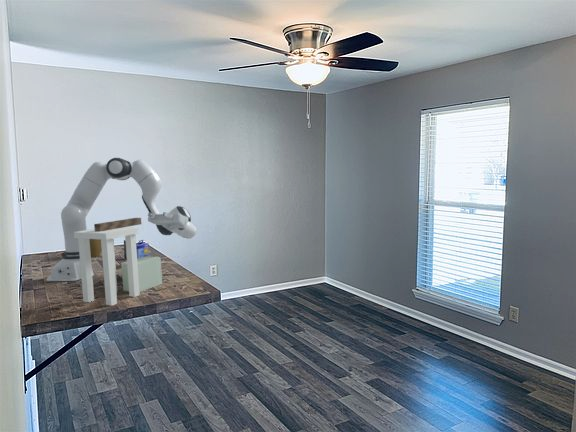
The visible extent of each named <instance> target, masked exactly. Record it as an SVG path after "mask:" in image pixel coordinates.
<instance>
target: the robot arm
mask: <svg viewBox="0 0 576 432" xmlns="http://www.w3.org/2000/svg"><path fill="white" fill-rule="evenodd" d="M130 178H132V179H133V180H134V181H135V182H136V183H137V185H138V186H139V187H140V189H141V193H142V194H141V199H142V202H143V205H145V208H146V209H147V211H148V213H147V216H148V217H147V222H148V223H151V224H153V225H156V229H157V230H158V232H159V234H161V235H163V236H171V235H172V234H176V235H178V236H179V237H182V239H183V238H184V239H192V238H194V237H195V236H196V234H197V231H198V229H197V226H195V225H194V224H193V222H192V216H191V214H190V212H189V210H187V208H185V207H183V206H180V205H177V206H175V207H174V208H173V209H171V210H170V211H169V212H166V211H165V212H163V213H161V212H160V211H159V209H158V207H157V205H156V198H157V196H158V194H159V193H160V191H161V188H162V179H161V178H160V176H159V175H158V173H157V172H156V171H155V169H153V168H152V167H151V165H150V164H148V163H147V162H146V161H145V160H143V159H137V160H134V161H133V162H130V161H129V160H126V159H124V158H121V157H113V158H111V159H109V160H108V161H107V162H106V163H104V162H101V161H95V162H93V163H92V164H91V165H90V166H89V168H88V169H87V170H86V171H85V173H84V175H83V176H82V178H81V180H80V181H79V183H78V184H77V186H76V188H75V190H74V191H73V193H72V195H71V197H70V199H69V200H68V202H67V204H66V205H65V206H64V207H63V208H62V209H61V212H60V218H61V226H62V230H63V231H62V232H63V237H64V248H65V251H63V252H62V253H61V254H60V257H62V259H61V260H59V261H58V262H57V263H56V264H54V265H53V266H52V268H51V271H50V275H49V276H47V277H46V282H75V281H78V280H79V281H80V280H82V279H81V267H80V255H79V243H78V238H74V232H78V231H84V230H88V229H87V228H88V227H87V221H86V217H87V216H88V214H89V212H90V211H91V209H92V207H93V205H94V204H95V202H96V200H97V199H98V197H99V195H100V194H101V192H102V190H103V188H104V186H105V185H106V183H107V182H108V181H109V179H113V180H117V181H126V180H128V179H130ZM94 276H95V273H94V271H93V269H92V277H94Z"/></svg>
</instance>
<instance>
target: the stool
mask: <svg viewBox="0 0 576 432" xmlns="http://www.w3.org/2000/svg"><path fill="white" fill-rule="evenodd" d="M139 233H140V232H139V227H138V226H137V227H135V226H129V227H123V228H117V229H112V230H106V231H100V232H99V231H95V228H91V229H87V230H84V231H78V232H74V238H78V243H79V255H80V267H81V279H80V280H81V289H82V299H83V300H82V302H83V303H87V302H89V303H91V301H92V302H95V294H94V293H95V292H94V282H93V281H94V278H93V276H92V270H93V267H92V266H93V265H92V257H91V253H90V241H89V239H101V246H102V251H101V255H102V269H103V279H104V280H103V281H104V282H103V283H104V293H105V294H104V295H105V297H104V298H105V305H106V306H111V307H112V306H114V305H117V304H118V295H117V293H118V281H117V279H118V278H117V268H116V265H117V264H116V254H115V252H116V251H115V241H114V239H117V238H121V237H125V241H126V255H127V260H126V262H127V269H128V283H129V291H128V294H129V297H132V298H133V297H134V298H135V297H136V298H137V297H139V296H140V293H141V292H139V278H138V264H137V250H136V244H137V239H136V238H137V237H136V235H137V234H139Z"/></svg>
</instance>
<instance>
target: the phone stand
mask: <svg viewBox="0 0 576 432" xmlns="http://www.w3.org/2000/svg"><path fill="white" fill-rule="evenodd" d="M123 251H124V252H123V254H124V256H123V257H124V259H125V260H126V261H127V255H126V241H125V240H123Z"/></svg>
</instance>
